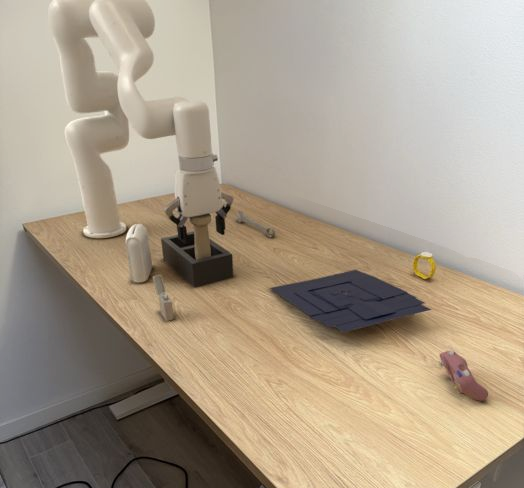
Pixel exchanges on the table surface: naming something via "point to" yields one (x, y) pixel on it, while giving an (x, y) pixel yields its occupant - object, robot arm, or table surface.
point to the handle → (201, 235)
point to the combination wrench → (255, 224)
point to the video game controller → (462, 376)
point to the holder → (201, 269)
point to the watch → (428, 256)
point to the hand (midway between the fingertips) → (202, 237)
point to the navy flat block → (350, 300)
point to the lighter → (163, 298)
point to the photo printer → (138, 253)
